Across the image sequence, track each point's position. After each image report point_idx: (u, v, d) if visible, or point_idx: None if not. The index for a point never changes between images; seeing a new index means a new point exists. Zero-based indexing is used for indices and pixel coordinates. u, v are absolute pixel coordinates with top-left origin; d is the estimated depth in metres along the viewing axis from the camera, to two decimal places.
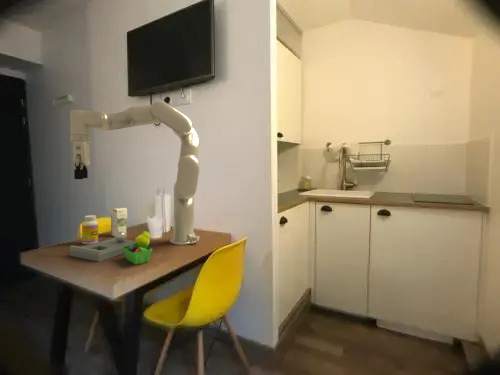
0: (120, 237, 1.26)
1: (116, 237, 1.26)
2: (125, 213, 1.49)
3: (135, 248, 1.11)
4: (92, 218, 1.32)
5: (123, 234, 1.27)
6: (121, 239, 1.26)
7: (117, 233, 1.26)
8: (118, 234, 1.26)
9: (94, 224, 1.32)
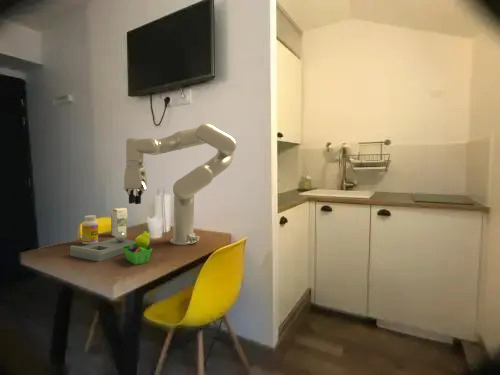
0: (120, 237, 1.26)
1: (116, 237, 1.26)
2: (125, 213, 1.49)
3: (135, 248, 1.11)
4: (92, 218, 1.32)
5: (123, 234, 1.27)
6: (121, 239, 1.26)
7: (117, 233, 1.26)
8: (118, 234, 1.26)
9: (94, 224, 1.32)
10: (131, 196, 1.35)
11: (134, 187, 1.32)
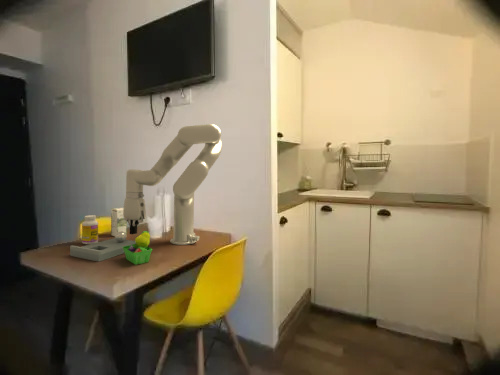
0: (120, 237, 1.26)
1: (116, 237, 1.26)
2: None
3: (135, 248, 1.11)
4: (92, 218, 1.32)
5: (123, 234, 1.27)
6: (121, 239, 1.26)
7: (117, 233, 1.26)
8: (118, 234, 1.26)
9: (94, 224, 1.32)
10: None
11: (133, 218, 1.33)
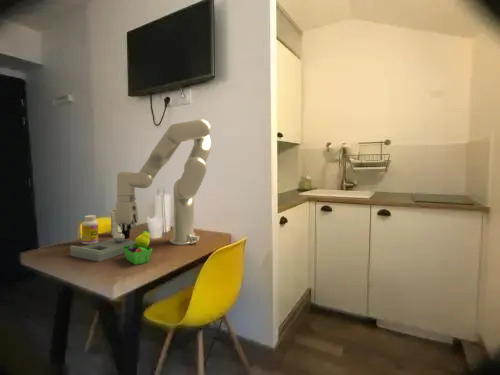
0: (118, 239, 1.25)
1: (114, 239, 1.25)
2: None
3: (135, 248, 1.11)
4: (92, 218, 1.32)
5: (120, 235, 1.25)
6: (120, 240, 1.26)
7: (114, 235, 1.25)
8: (115, 236, 1.25)
9: (94, 224, 1.32)
10: None
11: (125, 222, 1.28)
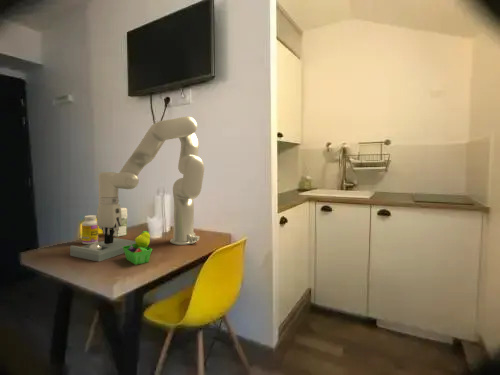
0: (95, 247, 1.15)
1: (91, 246, 1.15)
2: (125, 213, 1.49)
3: (135, 248, 1.11)
4: (92, 218, 1.32)
5: (100, 246, 1.16)
6: None
7: (94, 243, 1.16)
8: (95, 244, 1.16)
9: (94, 224, 1.32)
10: None
11: (107, 226, 1.19)
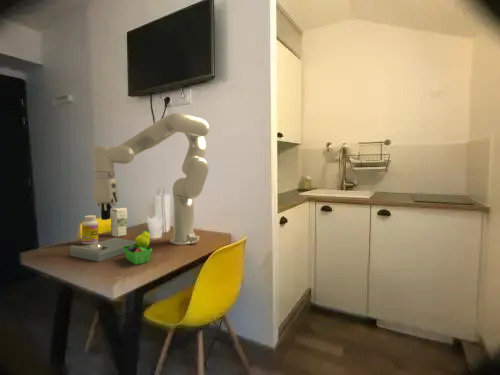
0: (96, 247, 1.15)
1: (92, 245, 1.15)
2: (125, 213, 1.49)
3: (135, 248, 1.11)
4: (92, 218, 1.32)
5: (101, 246, 1.17)
6: (96, 249, 1.15)
7: (96, 243, 1.17)
8: (96, 244, 1.16)
9: (94, 224, 1.32)
10: None
11: (104, 201, 1.17)
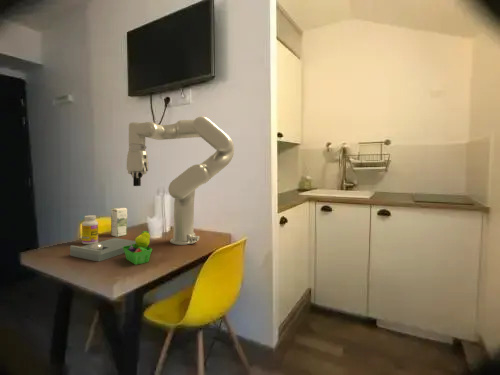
0: (97, 246, 1.15)
1: (93, 245, 1.16)
2: (125, 213, 1.49)
3: (135, 248, 1.11)
4: (92, 218, 1.32)
5: (101, 246, 1.17)
6: (96, 249, 1.15)
7: None
8: (97, 243, 1.17)
9: (94, 224, 1.32)
10: None
11: (136, 170, 1.37)
